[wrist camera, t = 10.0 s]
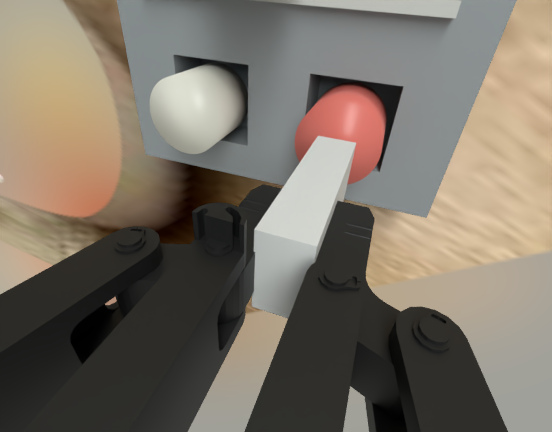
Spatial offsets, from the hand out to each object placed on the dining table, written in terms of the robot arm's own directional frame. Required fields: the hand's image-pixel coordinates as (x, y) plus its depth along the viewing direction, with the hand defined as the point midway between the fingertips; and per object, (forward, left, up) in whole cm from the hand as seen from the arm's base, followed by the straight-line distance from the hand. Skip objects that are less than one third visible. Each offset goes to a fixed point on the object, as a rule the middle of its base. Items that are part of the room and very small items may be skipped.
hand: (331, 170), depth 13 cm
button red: (0, 0, -6) cm, 6 cm away
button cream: (-8, 0, -6) cm, 10 cm away
